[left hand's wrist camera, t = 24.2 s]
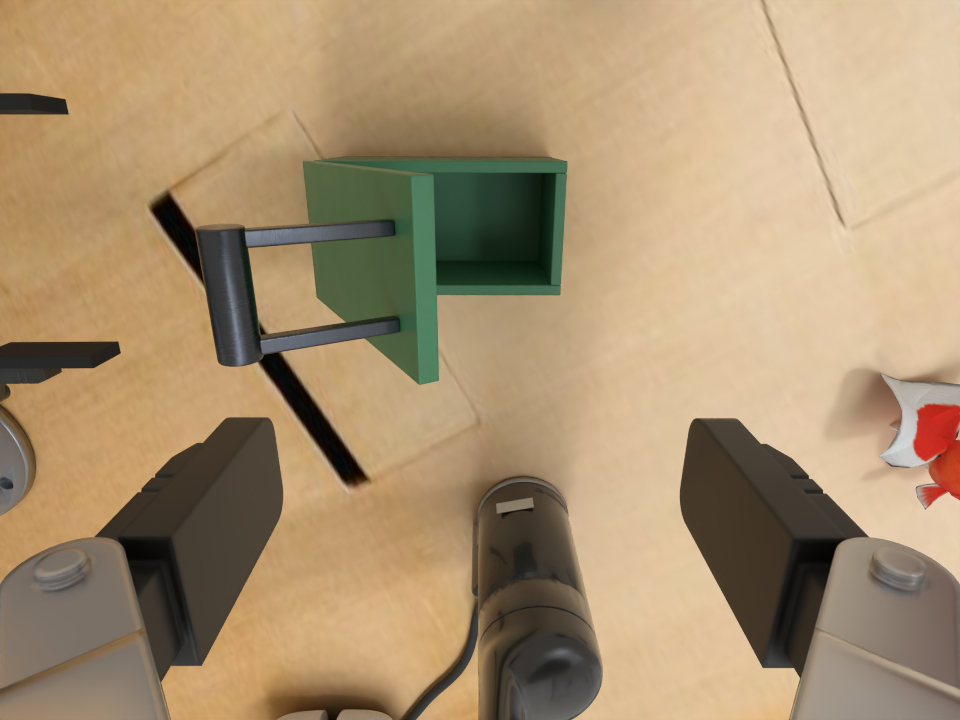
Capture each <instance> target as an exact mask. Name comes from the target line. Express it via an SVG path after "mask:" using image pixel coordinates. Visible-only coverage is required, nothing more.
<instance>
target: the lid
mask: <svg viewBox="0 0 960 720" xmlns="http://www.w3.org/2000/svg"><path fill="white" fill-rule="evenodd" d="M303 168H304V178H305V187H306V197H307V207H308V216H309V224H300V225H285V226H270V227H254V228H245V227H244V226H243V225H239V224H214V225H205V226H200V227H197V228H196V229H195V234H196V239H197V245H198V251H199V256H200V262H201V268H202V274H203V279H204V285H205V291H206V296H207V302H208V308H209V314H210V319H211V325H212V331H213V337H214V342H215V348H216V354H217V359H218V362H219V364H221V365H223V366H231V367H236V366H245V365H249V364H253V363H256V362H258V361H260V360H261V359H262V357H263V355H264V354H270V353H276V352H283V351H289V350H295V349H301V348H307V347H313V346H319V345H325V344H331V343H337V342H343V341H349V340H356V339H362V338H365V339H366V340H367V341H369V342H370V343H371V344H372V345H373V346H374V347H376V348H377V349H378V350H379V351H380V352H381V353H383V354H384V355H385V356H386V357H387V358H388V359H390V360H391V361H392V362H393V363H394V364H395V365H397V366H398V367H399V368H400V369H401V370H403V371H404V372H405V373H406V374H407V375H408V376H410V377H411V378H412V379H413V380H414V381H415V382H417V383H418V384H419V385H421V384H426V383H430V382H435V381H438V380H439V367H438V328H437V289H436V250H435V211H434V176H433V175H432V174H426V173H417V172H408V171H400V170H391V169H382V168H374V167H365V166H356V165H348V164H339V163H330V162H322V161H303ZM303 243H311V245H312V255H313V265H314V274H315V284H316V294H317V298H318V299H319V300H320V301H322V302H323V303H324V304H325V305H326V306H328V307H329V308H330V309H331V310H332V311H333V312H335V313H336V314H337V315H338V316H339V317H340V318H342V319H343V320H344V321H345V322H346V323H339V324H333V325H326V326H319V327H313V328H306V329H299V330H292V331H286V332H279V333H272V334H266V335H260V329H259V322H258V315H257V308H256V301H255V294H254V287H253V280H252V273H251V266H250V259H249V252H248V248H253V247H266V246H278V245H290V244H303Z"/></svg>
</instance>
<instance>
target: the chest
mask: <svg viewBox="0 0 960 720" xmlns="http://www.w3.org/2000/svg"><path fill="white" fill-rule="evenodd" d="M316 161H322V162H330V163H339V164H348V165H356V166H365V167H374V168H382V169H391V170H400V171H408V172H417V173H426V174H432V175H433V176H434V211H435V250H436V289H437V295H560V288H561V286H560V284H561V269H562V251H563V232H564V214H565V195H566V177H567V174H566V173H567V161H563V160H559V159H554V158H552V157H341V158H332V159H324V160H316Z"/></svg>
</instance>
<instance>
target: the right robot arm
mask: <svg viewBox="0 0 960 720" xmlns="http://www.w3.org/2000/svg"><path fill="white" fill-rule="evenodd" d="M0 114H68V109H67V104H66V100H65V99H60V98H54V97H48V96H41V95H35V94H18V93H0ZM120 353H121V352H120V348H119V343H118V342H10V343H8V344H5V345H3V346H0V402H1V401H3V400H5V399H7V398H8V397H9V396H10V389H9V387H8V386H7V385H6V384H20V383H22V384H27V383H40V382H43V381H45V380H47V379H49V378H51V377H53V376H55V375H57V374H59V373H61V372H62V371H61V368H95V367H97V366H98V365H100V364H102V363H104V362H106V361H108V360H109V359H111V358H113V357H115V356H117V355H118V354H120ZM35 467H36V466H35V458H34V453H33V450H32V447H31V445H30V442H29V440H28V438H27V437H26V435H25V433H24V432H23V430H22V429H21V427H20V426H19V425H18V423H17V422H16V421H15V420H14V419H13V418H12V416H11V415H10V414H9V413H7V412H6V411H5V410H4V409H3V408H2V407H1V406H0V516H1V515H2V514H4V513H6V512H7V511H9V510H10V509H11V508H13V507H14V506H15V505H16V504H18V503H19V502H20V501H21V500H22V499H24V497H25V496H26V495H27V494H28V492H29V491H30V489H31V487H32V485H33V482H34V478H35Z"/></svg>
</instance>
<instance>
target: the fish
mask: <svg viewBox="0 0 960 720" xmlns="http://www.w3.org/2000/svg"><path fill="white" fill-rule="evenodd" d="M880 374H881V373H880ZM881 375H882V377H883V379H884V380H885V382H886V383H887V384H888V386H889V387H890V388H891V390H892V391H893V393H894V395H895V397H896V399H897V401H898V403H899V405H900V408H901V410H902V418H901V425H900V427H899V430H898V429H895V428H891V429H893V430H895V431H897V434H896V437H895V439H894V440H893V442H892V443H891V445H890V446H889V448H888V449H887V450H886V451H885V452H884V453H883V454H882V455H881V456H880V458H881V459H883V460H884V461H885V462H886V463H888V464H889V465H890V466H894V467H905V468H910V467H915V466H920V465H923V466H925V467H926V468H928V469H929V474H930V476H931V478H932V479H933V480H934V482H935V484H926V485H921V486H917V487H916V493H917V497H918V499H919V500H920V502H921V503H922V505H923V506H924V508H925V510H926V508H927V507H929V506H930V505H931V504H932V502H934V501H935V500H936V499H937V498H938V497H940V496H942V495H944V494H945V493H947V492H950V494H951V495H952V496H953V497H955V498H957V499H959V500H960V440H955V439H956V438H957V436H958V433H959V429H960V385H959V384H950V383H940V382H912V381H899V380H897V379H894V378H891V377H888V376H885V375H883V374H881Z"/></svg>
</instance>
